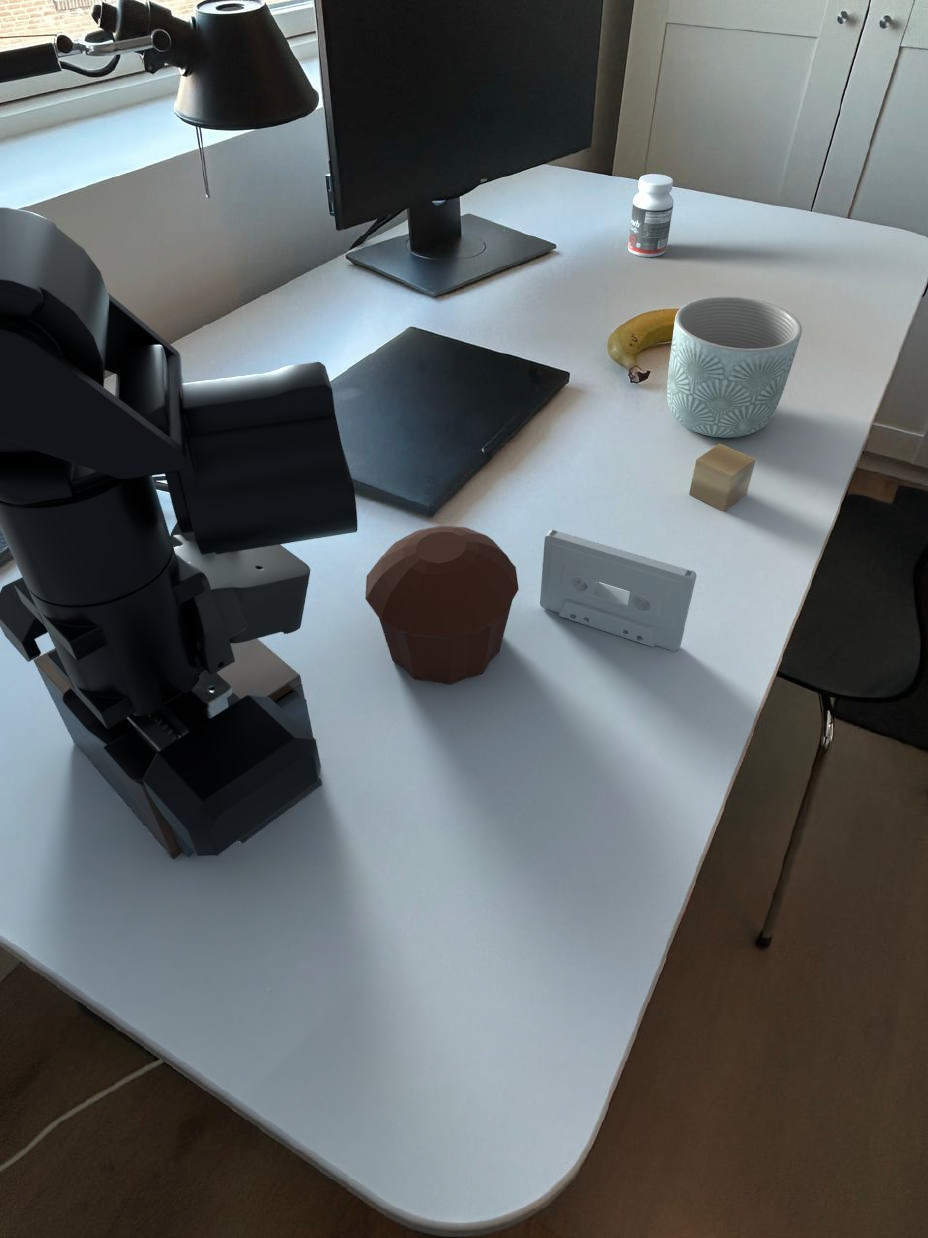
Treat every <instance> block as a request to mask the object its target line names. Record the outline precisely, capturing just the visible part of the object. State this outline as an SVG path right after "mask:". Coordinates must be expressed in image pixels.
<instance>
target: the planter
mask: <svg viewBox="0 0 928 1238" xmlns="http://www.w3.org/2000/svg"><path fill="white" fill-rule="evenodd" d="M802 334H803V327H802V324H801V322H800V321H799V319H798V318H797V317H796V316H794V315H793V314H792V313H791V312H789V311H788V310H787V309H784V308H783V307H780V306H778V305H775V304H773V303H770V302H767V301H764V300H760V299H755V298H750V297H742V296H727V295H726V296H721V295H720V296H709V297H704V298H700V299H695V300H692V301H690V302H688V303H686V304H684V305H682V307H680V308H679V309H678V311H677V312H676V314H675V317H674V325H673V332H672V339H671V347H670V354H669V363H668V372H667V382H666V383H667V385H666V398H667V399H666V400H667V405H668V408H669V411H670V413H671V414H672V416H673V418H675V419H676V421H678V422H679V423H680V424H681V425H682V426H684V427H685V428H687V429H689V430H691V431H693V432H695V433H697V434H701V435H704V436H706V437H707V436H708V437H713V438H720V439H721V438H723V439H724V438H728V439H730V438H741V437H744V436H749V435H751V434H753V433H755V432H758V431H759V430H761V429H762V428H764V427H765V426H766V425H767V424H768V423H769V422H770V420H771V419H772V417H773V416H774V414H775V413H776V410H777V408H778V406H779V404H780V401H781V398H782V396H783V393H784V390H785V387H786V385H787V381H788V378H789V375H790V372H791V369H792V366H793V364H794V363H793V362H794V359H795V357H796V354H797V351H798V346H799V343H800V339H801V337H802Z"/></svg>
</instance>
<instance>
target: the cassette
mask: <svg viewBox="0 0 928 1238" xmlns="http://www.w3.org/2000/svg"><path fill="white" fill-rule="evenodd" d="M696 580H697V573H696V572H695V571H694V570H690V569H687V568H684V567H682V566H681V567H680V566H677V565H674V564H671V563H667V562H664V561H660V560H656V559H654V558H650V557H647V556H643V555H639V554H637V553H633V552H630V551H627V550H623V549H619V548H616V547H613V546H609V545H606V544H603V543H599V542H596V541H592V540H588V539H586V538H582V537H579V536H576V535H572V534H568V533H565V532H562V531H558V530H556V529H550V530H549V531H548V532H547V534H546V535H545V537H544V542H543V556H542V569H541V583H540V597H539V605H540V607H541V608H543V609H545V610H547V611H551V612H554V613H557V614H558V617H561V618H563V619H566V620H570V621H573V622H576V623H579V624H582V625H585V626H587V627H591V628H593V629H596V630H600V631H603V632H606V633H609V634H611V635H614V636H618V637H621V638H624V639H627V640H629V641H633V642H636V643H639V644H643V645H646V646H648V647H652V648H654V647H655V646H658V647H660V648H663V649H667V650H668V651H669V650H670V651H672V652H673V651H674V652H676V651H678V650H679V648H681V645H682V642H683V639H684V638H683V637H684V633H685V628H686V623H687V619H688V614H689V610H690V606H691V602H692V597H693V593H694V589H695V585H696Z"/></svg>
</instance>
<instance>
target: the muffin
mask: <svg viewBox="0 0 928 1238" xmlns="http://www.w3.org/2000/svg"><path fill="white" fill-rule="evenodd" d="M518 581H519V580H518V573H517V566H515V564H514V562H513V563H512V560H511V559H510V558H509V556H508V554H506V553H505V551H503V549H501V547H500V546H499V545H498V544H497V543H496V542H495V541H494V540H493V539H492V538H491V537H490V536H488V535H486V534H484V533H482V532H480V531H476V530H474V529H471V528H469V527H465V526H456V525H455V526H454V525H437V526H432V527H427V528H422V529H418V530H415V531H413V532H411V533H410V534H408V535H407V536H404V537H402V538H401V539H398V540H397V541H395V542H394V543H393V544H392V545H390V547H389V548H388V549H387V550H386V551H385V552H384V554H382V556H380V558H379V559H378V561H376V563H375V564H374V565H373V567H372V568H371V570H370V571H369V572H368V573H367V575H366V580H365V600H366V602H367V603H368V605H369V606H370V608H371V609H372V610H373V612H374V613H375V614H376V616H377V618H378V620H379V623H380V625H381V630H382V631H383V635H384V638H385V642H386V646H387V648H388V652H389V654H390V658H391V659H392V662H394V663H395V664H396V665H398V666H399V667H401V668H402V669H404V670H405V671H406V672H407V673H408V674H409V675H410V676H411V677H412V678H413V679H414V680H415V681H426V682H434V683H440V684H443V685H449V686H451V685H453V684H456V683H458V682H460V681H462V680H464V679H465V680H466V679H469V678H472V677H476V676H480V675H483V674H484V672H485V670H487V667H488V665H489V664H490V663H491V661H492V660H493V659H494V658H495V657H496V656H497V655H498V654H499V653H500V650H501V647H502V643H503V638H504V635H505V631H506V627H507V623H508V619H509V615H510V612H511V608H512V604H513V601H514V598H515V597H516V595H517V593H518V592H519V590H520V589H519V582H518Z"/></svg>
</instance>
